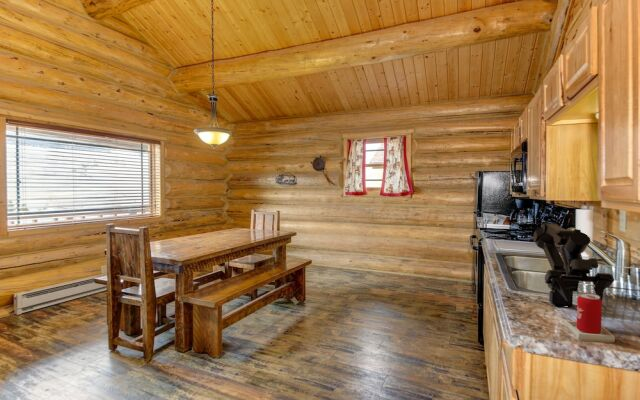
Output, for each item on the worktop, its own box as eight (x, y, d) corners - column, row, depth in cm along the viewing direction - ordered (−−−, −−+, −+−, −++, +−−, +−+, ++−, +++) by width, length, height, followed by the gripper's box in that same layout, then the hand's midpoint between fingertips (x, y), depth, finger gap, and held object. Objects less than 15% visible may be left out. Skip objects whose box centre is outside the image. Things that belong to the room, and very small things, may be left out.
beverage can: (587, 326, 115) (589, 291, 114) (606, 335, 109) (607, 298, 108) (571, 328, 114) (572, 293, 113) (589, 337, 108) (590, 300, 107)
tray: (597, 328, 115) (597, 322, 114) (614, 342, 105) (614, 336, 105) (565, 326, 117) (565, 320, 117) (578, 339, 108) (578, 333, 108)
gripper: (548, 247, 121) (557, 289, 112) (613, 250, 115) (628, 294, 106) (541, 263, 129) (549, 303, 120) (601, 266, 123) (614, 308, 114)
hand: (583, 302), depth 115 cm, fingers open, 9 cm apart
